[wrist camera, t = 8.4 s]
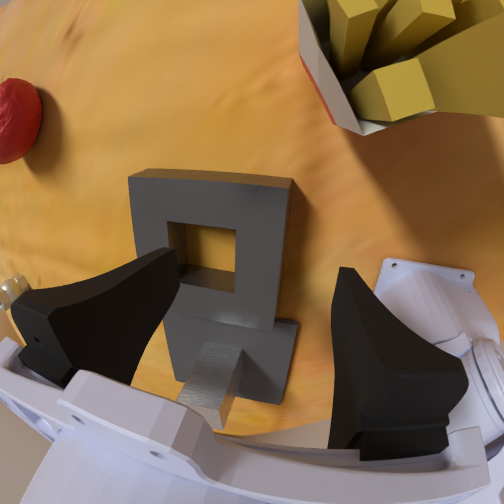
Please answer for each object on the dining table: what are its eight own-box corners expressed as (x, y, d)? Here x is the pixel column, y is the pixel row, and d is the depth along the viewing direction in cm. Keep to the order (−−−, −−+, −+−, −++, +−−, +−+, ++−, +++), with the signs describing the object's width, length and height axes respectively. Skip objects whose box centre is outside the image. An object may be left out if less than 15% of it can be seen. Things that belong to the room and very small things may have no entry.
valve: (13, 275, 37) (48, 330, 41) (-11, 294, 31) (27, 351, 35) (22, 266, 35) (61, 326, 38) (-5, 286, 29) (38, 350, 33)
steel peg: (241, 348, 28) (218, 410, 21) (243, 372, 30) (223, 430, 23) (205, 341, 29) (176, 399, 22) (209, 365, 31) (184, 420, 24)
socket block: (292, 178, 20) (288, 188, 18) (278, 310, 26) (272, 331, 23) (148, 168, 22) (127, 176, 20) (160, 287, 28) (145, 304, 25)
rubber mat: (298, 321, 26) (297, 325, 25) (280, 401, 32) (280, 404, 32) (161, 295, 28) (158, 298, 28) (177, 377, 35) (175, 380, 34)
